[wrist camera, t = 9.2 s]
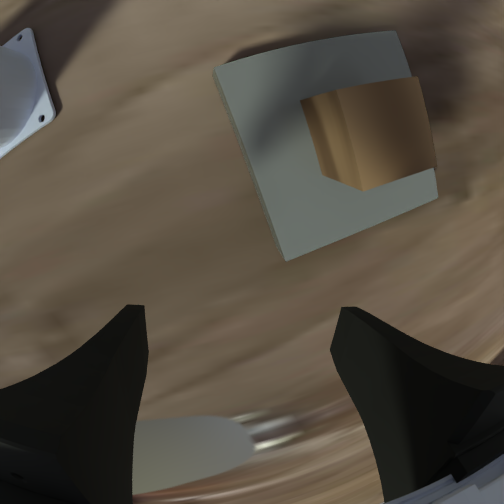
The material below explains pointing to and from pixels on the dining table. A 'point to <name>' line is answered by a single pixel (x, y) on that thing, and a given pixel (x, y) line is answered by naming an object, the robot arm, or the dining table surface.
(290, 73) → the plinth
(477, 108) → the dining table surface
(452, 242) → the dining table surface
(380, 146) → the walnut cube
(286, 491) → the dining table surface
